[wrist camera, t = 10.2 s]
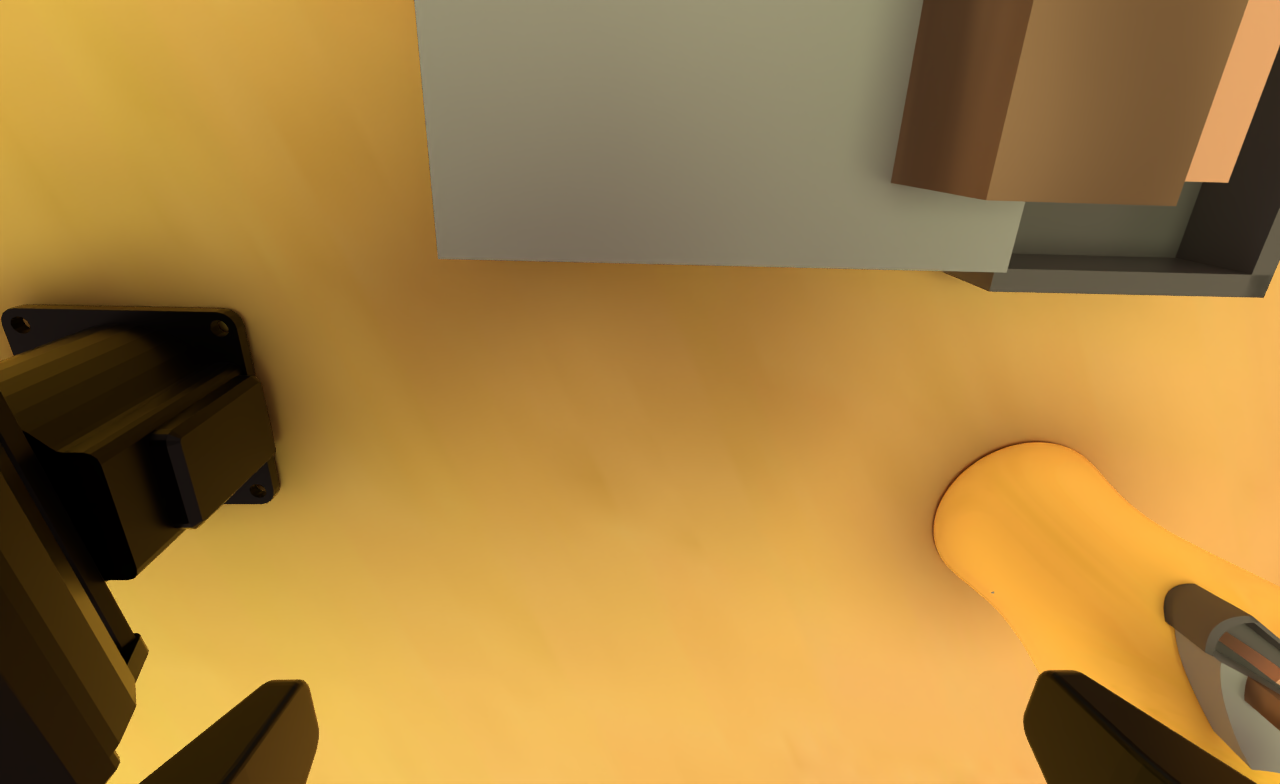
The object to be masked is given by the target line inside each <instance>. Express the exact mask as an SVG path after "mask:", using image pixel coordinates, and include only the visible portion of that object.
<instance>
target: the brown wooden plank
mask: <svg viewBox="0 0 1280 784" xmlns="http://www.w3.org/2000/svg"><path fill="white" fill-rule="evenodd" d="M1248 1H1249V0H923V5H922V11H921V17H920V22H919V28H918V33H917V39H916V44H915V50H914V56H913V61H912V67H911V72H910V78H909V84H908V89H907V95H906V100H905V106H904V111H903V117H902V123H901V128H900V134H899V139H898V145H897V151H896V156H895V162H894V167H893V173H892V178H891V183H894V184H900V185H905V186H911V187H916V188H921V189H927V190H932V191H938V192H943V193H949V194H954V195H960V196H965V197H970V198H976V199H981V200H990V201H1023V202H1056V203H1090V204H1123V205H1156V206H1176V205H1177V202H1178V199H1179V196H1180V193H1181V191H1182V188H1183V185H1184V182H1185V179H1186V176H1187V174H1188V171H1189V168H1190V165H1191V162H1192V159H1193V157H1194V154H1195V151H1196V148H1197V145H1198V142H1199V140H1200V137H1201V134H1202V131H1203V128H1204V125H1205V123H1206V120H1207V117H1208V114H1209V111H1210V108H1211V106H1212V103H1213V100H1214V97H1215V94H1216V91H1217V89H1218V86H1219V83H1220V80H1221V77H1222V74H1223V72H1224V69H1225V66H1226V63H1227V60H1228V57H1229V55H1230V52H1231V49H1232V46H1233V43H1234V40H1235V38H1236V35H1237V32H1238V29H1239V26H1240V23H1241V21H1242V18H1243V15H1244V12H1245V9H1246V6H1247V4H1248Z"/></svg>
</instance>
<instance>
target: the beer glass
mask: <svg viewBox="0 0 1280 784" xmlns="http://www.w3.org/2000/svg"><path fill="white" fill-rule="evenodd" d="M933 535H934V541H935V545H936V548H937V551H938V553H939V555H940V557H941V559H942V560H943V562H944V563H945V564H946V565H947V566H948V567H949V568H950V570H951V571H952V572H953V573H955V574H956V575H957V576H958V577H959V578H960V579H961V580H963V581H964V582H965V583H966V584H968V585H969V586H970V587H971V588H972V589H974V590H975V591H976V592H977V593H978V594H980V595H981V596H982V597H983V598H984V599H986V600H987V601H988V602H989V603H990V604H991V605H992V606H993V607H994V608H995V609H996V610H997V611H998V612H999V613H1000V614H1001V616H1002V617H1003V618H1004V619H1005V620H1006V621H1007V622H1008V624H1009V625H1010V627H1011V628H1012V630H1013V631H1014V632H1015V634H1016V635H1017V637H1018V638H1019V639H1020V641H1021V642H1022V644H1023V646H1024V647H1025V649H1026V651H1027V653H1028V655H1029V656H1030V658H1031V660H1032V662H1033V663H1034V665H1035V667H1036V669H1037V670H1038V672H1039V674H1041V673H1042V672H1044V671H1047V670H1075V671H1079V672H1081V673H1083V674H1085V675H1086V676H1088V677H1090V678H1091V679H1093V680H1094V681H1096V682H1098V683H1099V684H1101V685H1102V686H1104V687H1105V688H1107V689H1109V690H1110V691H1112V692H1113V693H1115V694H1116V695H1118V696H1120V697H1121V698H1123V699H1124V700H1126V701H1128V702H1129V703H1131V704H1132V705H1134V706H1135V707H1137V708H1139V709H1140V710H1142V711H1143V712H1145V713H1146V714H1148V715H1150V716H1151V717H1153V718H1154V719H1156V720H1158V721H1159V722H1161V723H1162V724H1164V725H1165V726H1167V727H1169V728H1170V729H1172V730H1173V731H1175V732H1176V733H1178V734H1180V735H1181V736H1183V737H1184V738H1186V739H1187V740H1189V741H1191V742H1192V743H1194V744H1195V745H1197V746H1199V747H1200V748H1202V749H1203V750H1205V751H1206V752H1208V753H1210V754H1211V755H1213V756H1214V757H1216V758H1217V759H1219V760H1221V761H1222V762H1224V763H1225V764H1227V765H1228V766H1230V767H1232V768H1233V769H1235V770H1236V771H1238V772H1240V773H1241V774H1243V775H1244V776H1246V777H1247V778H1249V779H1251V780H1252V781H1254V782H1255V783H1257V784H1280V587H1279V586H1277V585H1275V584H1273V583H1271V582H1269V581H1267V580H1265V579H1263V578H1261V577H1259V576H1257V575H1255V574H1253V573H1251V572H1249V571H1247V570H1245V569H1243V568H1241V567H1239V566H1236V565H1234V564H1232V563H1230V562H1228V561H1226V560H1224V559H1222V558H1220V557H1218V556H1216V555H1214V554H1212V553H1210V552H1208V551H1206V550H1204V549H1202V548H1200V547H1198V546H1196V545H1194V544H1192V543H1190V542H1188V541H1186V540H1184V539H1182V538H1180V537H1179V536H1177V535H1175V534H1173V533H1171V532H1170V531H1168V530H1166V529H1165V528H1163V527H1162V526H1160V525H1158V524H1157V523H1155V522H1154V521H1152V520H1150V519H1149V518H1148V517H1146V516H1145V515H1144V514H1142V513H1141V512H1140V511H1138V510H1137V509H1136V508H1135V507H1133V506H1132V505H1131V504H1130V503H1129V502H1128V501H1126V500H1125V499H1124V498H1123V497H1122V496H1121V495H1120V494H1119V493H1118V492H1117V491H1116V490H1115V489H1114V488H1113V487H1112V485H1111V484H1110V483H1109V482H1108V481H1107V480H1106V479H1105V478H1104V476H1103V475H1102V474H1101V473H1100V472H1099V471H1098V470H1097V469H1096V468H1095V466H1094V465H1093V464H1092V463H1091V462H1090V461H1089V460H1087V459H1086V458H1085V457H1084V456H1082V455H1081V454H1080V453H1078V452H1076V451H1074V450H1072V449H1070V448H1068V447H1065V446H1062V445H1058V444H1054V443H1047V442H1029V443H1021V444H1016V445H1012V446H1009V447H1005V448H1003V449H1000V450H997V451H995V452H993V453H991V454H989V455H987V456H985V457H983V458H981V459H980V460H978V461H977V462H975V463H974V464H972V465H971V466H970V467H968V468H967V469H966V470H965V471H964V472H963V473H962V474H960V475H959V476H958V477H957V479H956V480H955V481H954V482H953V483H952V484H951V486H950V487H949V488H948V490H947V491H946V493H945V494H944V496H943V498H942V499H941V502H940V504H939V506H938V508H937V511H936V515H935V519H934V526H933Z"/></svg>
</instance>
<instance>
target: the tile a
mask: <svg viewBox="0 0 1280 784" xmlns="http://www.w3.org/2000/svg"><path fill="white" fill-rule="evenodd" d="M1279 46H1280V0H1249V1H1248V4H1247V6H1246V9H1245V12H1244V15H1243V18H1242V21H1241V23H1240V26H1239V29H1238V32H1237V35H1236V38H1235V40H1234V43H1233V46H1232V49H1231V52H1230V55H1229V57H1228V60H1227V63H1226V66H1225V69H1224V72H1223V74H1222V77H1221V80H1220V83H1219V86H1218V89H1217V91H1216V94H1215V97H1214V100H1213V103H1212V106H1211V108H1210V111H1209V114H1208V117H1207V120H1206V123H1205V125H1204V128H1203V131H1202V134H1201V137H1200V140H1199V142H1198V145H1197V148H1196V151H1195V154H1194V157H1193V159H1192V162H1191V165H1190V168H1189V171H1188V174H1187V176H1186V179H1185V181H1188V182H1222V183H1228V182H1229V179H1230V176H1231V174H1232V171H1233V168H1234V166H1235V163H1236V160H1237V158H1238V155H1239V152H1240V150H1241V147H1242V144H1243V142H1244V139H1245V136H1246V134H1247V131H1248V128H1249V126H1250V123H1251V120H1252V118H1253V115H1254V113H1255V110H1256V107H1257V105H1258V102H1259V99H1260V97H1261V94H1262V91H1263V89H1264V86H1265V83H1266V81H1267V78H1268V75H1269V73H1270V70H1271V67H1272V65H1273V62H1274V59H1275V57H1276V54H1277V51H1278V49H1279Z"/></svg>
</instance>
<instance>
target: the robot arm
mask: <svg viewBox="0 0 1280 784" xmlns="http://www.w3.org/2000/svg"><path fill="white" fill-rule="evenodd" d="M23 318H24V319H25V320H27V321H28V323H29V324H30V328H29V327H28V326H26V325H25V323H24V322H23ZM218 320H219V321H222V322H224V323H225V324H226V325H227V327H228V329H229V330H228V333H227V332H224V331H223V330H221V329H220V327H219V325H218ZM1 321H2V326H3V328H4V331H5V334H6V336H7V339H8V342H9V344H10V347H11V349H12V352H13V355H14V356H13V357H10V358H7V359H5V360H2V361H0V784H106V783H107V782H108V780H109V779H110V778H111V776H112V775H113V774H114V772H115V771H116V770H117V768H118V765H119V763H120V759H119V756H118V754H117V753H116V751H115V749H116V748H117V746H118V745H119V743H120V741H121V739H122V737H123V734H124V732H125V730H126V728H127V725H128V723H129V721H130V719H131V717H132V714H133V712H134V710H135V708H136V691H135V683H136V681H137V678H138V676H139V674H140V671H141V669H142V667H143V664H144V662H145V660H146V657H147V655H148V652H149V650H148V648H147V647H146V645H145V643H144V641H143V639H142V637H141V635H140V634H138V633H133V632H132V630H131V628H130V626H129V625H128V623H127V621H126V619H125V617H124V615H123V614H122V612H121V610H120V608H119V606H118V605H117V603H116V601H115V599H114V597H113V595H112V594H111V592H110V590H109V588H108V586H107V584H106V582H107V581H108V580H130V579H134V578H135V577H136V576H137V575H138V574H139V573H140V572H141V571H142V570H143V569H145V568H146V567H147V566H148V565H149V564H150V563H151V562H152V561H153V560H154V559H155V558H156V557H157V556H158V555H159V554H160V553H162V552H163V551H164V550H165V549H166V548H167V547H168V546H169V545H170V544H171V543H172V542H173V541H174V540H175V539H176V538H177V537H179V536H180V535H181V534H182V533H183V532H184V531H185V530H186V529H196V528H198V527H200V526H201V525H202V524H203V523H204V522H205V521H206V520H207V519H208V518H209V517H210V516H211V515H212V514H213V513H214V512H215V511H216V510H217V509H218V508H219V507H220V506H222V505H223V504H264V503H268V502H269V501H271V500H272V499H273V498H274V497H275V496H276V495H277V493H278V492H279V490H280V484H279V479H278V474H277V470H276V465H275V461H274V456H273V455H274V454H275V453H276V448H275V443H274V439H273V434H272V429H271V425H270V420H269V416H268V411H267V406H266V402H265V397H264V393H263V388H262V384H261V382H260V381H259V380H258V379H257V377H256V375H255V370H254V366H253V361H252V357H251V352H250V348H249V343H248V339H247V334H246V330H245V325H244V323H243V320H242V318H241V317H240V316H239V315H238V314H237V313H235V312H233V311H232V310H229V309H224V308H181V307H130V306H79V305H28V304H26V305H21V306H17V307H14V308H10V309H7V310H6V311H5V312H4V313H3V315H2V317H1ZM256 484H258V485H261V486H263V487H264V488H265V490H266V491H262V490H260V489H259V488H258V487H257V485H256ZM1023 724H1024V730H1025V734H1026V737H1027V740H1028V742H1029V744H1030V746H1031V749H1032V751H1033V753H1034V755H1035V758H1036V760H1037V762H1038V764H1039V766H1040V769H1041V771H1042V773H1043V775H1044V778H1045V780H1046V782H1047V784H1257V783H1255V782H1254V781H1252V780H1251V779H1249V778H1247V777H1246V776H1244V775H1243V774H1241V773H1240V772H1238V771H1236V770H1235V769H1233V768H1232V767H1230V766H1228V765H1227V764H1225V763H1224V762H1222V761H1221V760H1219V759H1217V758H1216V757H1214V756H1213V755H1211V754H1210V753H1208V752H1206V751H1205V750H1203V749H1202V748H1200V747H1199V746H1197V745H1195V744H1194V743H1192V742H1191V741H1189V740H1187V739H1186V738H1184V737H1183V736H1181V735H1180V734H1178V733H1176V732H1175V731H1173V730H1172V729H1170V728H1169V727H1167V726H1165V725H1164V724H1162V723H1161V722H1159V721H1158V720H1156V719H1154V718H1153V717H1151V716H1150V715H1148V714H1146V713H1145V712H1143V711H1142V710H1140V709H1139V708H1137V707H1135V706H1134V705H1132V704H1131V703H1129V702H1128V701H1126V700H1124V699H1123V698H1121V697H1120V696H1118V695H1116V694H1115V693H1113V692H1112V691H1110V690H1109V689H1107V688H1105V687H1104V686H1102V685H1101V684H1099V683H1098V682H1096V681H1094V680H1093V679H1091V678H1090V677H1088V676H1086V675H1085V674H1083V673H1081V672H1079V671H1075V670H1047V671H1044V672H1042V673H1041V674H1040V675H1039V677H1038V678H1037V681H1036V683H1035V686H1034V689H1033V691H1032V694H1031V697H1030V699H1029V702H1028V705H1027V707H1026V710H1025V713H1024V717H1023ZM318 739H319V728H318V722H317V718H316V714H315V710H314V705H313V701H312V697H311V693H310V689H309V686H308V684H307V683H306V682H305V681H304V680H271V681H268V682H266V683H265V684H263V685H261V686H260V687H259V688H258V689H256V690H255V691H254V692H253V693H251V694H250V695H249V696H248V697H246V698H245V699H244V700H243V701H241V702H240V703H239V704H238V705H236V706H235V707H234V708H233V709H231V710H230V711H229V712H228V713H226V714H225V715H224V716H223V717H221V718H220V719H219V720H218V721H216V722H215V723H214V724H213V725H211V726H210V727H209V728H208V729H206V730H205V731H204V732H203V733H201V734H200V735H199V736H198V737H196V738H195V739H194V740H193V741H191V742H190V743H189V744H188V745H186V746H185V747H184V748H183V749H182V750H180V751H179V752H178V753H177V754H175V755H174V756H173V757H172V758H170V759H169V760H168V761H167V762H165V763H164V764H163V765H162V766H160V767H159V768H158V769H157V770H155V771H154V772H153V773H152V774H150V775H149V776H148V777H147V778H145V779H144V780H143V781H142V782H140V783H139V784H306V781H307V778H308V775H309V772H310V769H311V766H312V762H313V759H314V756H315V753H316V750H317V745H318Z"/></svg>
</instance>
